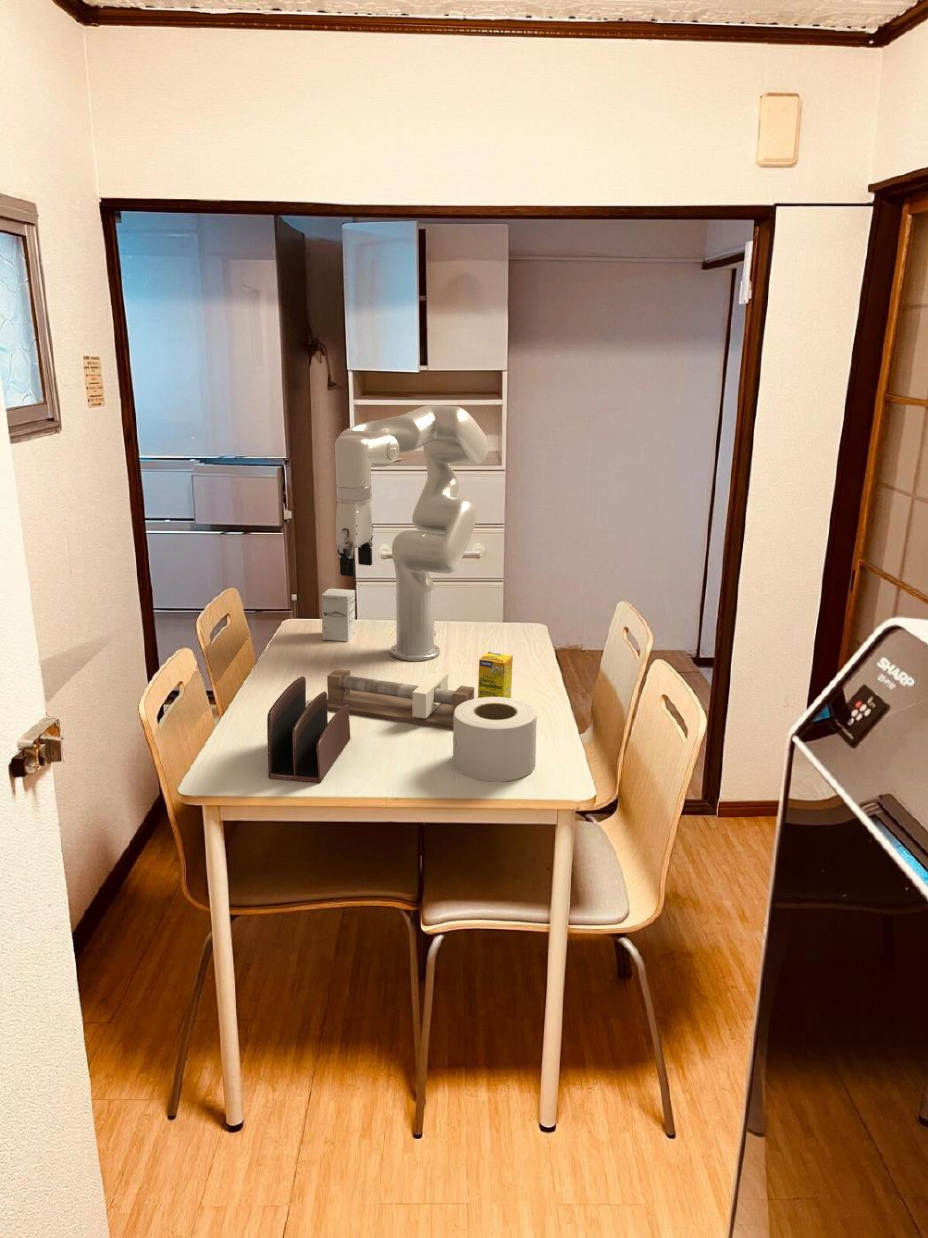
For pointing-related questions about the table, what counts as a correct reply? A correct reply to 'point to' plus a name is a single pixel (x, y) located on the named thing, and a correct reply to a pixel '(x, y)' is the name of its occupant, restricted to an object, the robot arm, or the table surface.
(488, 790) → the table surface
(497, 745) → the white paper roll
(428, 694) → the collar
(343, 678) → the pipe stand
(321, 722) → the letter holder
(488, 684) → the supplement box
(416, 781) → the table surface
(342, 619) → the supplement box
